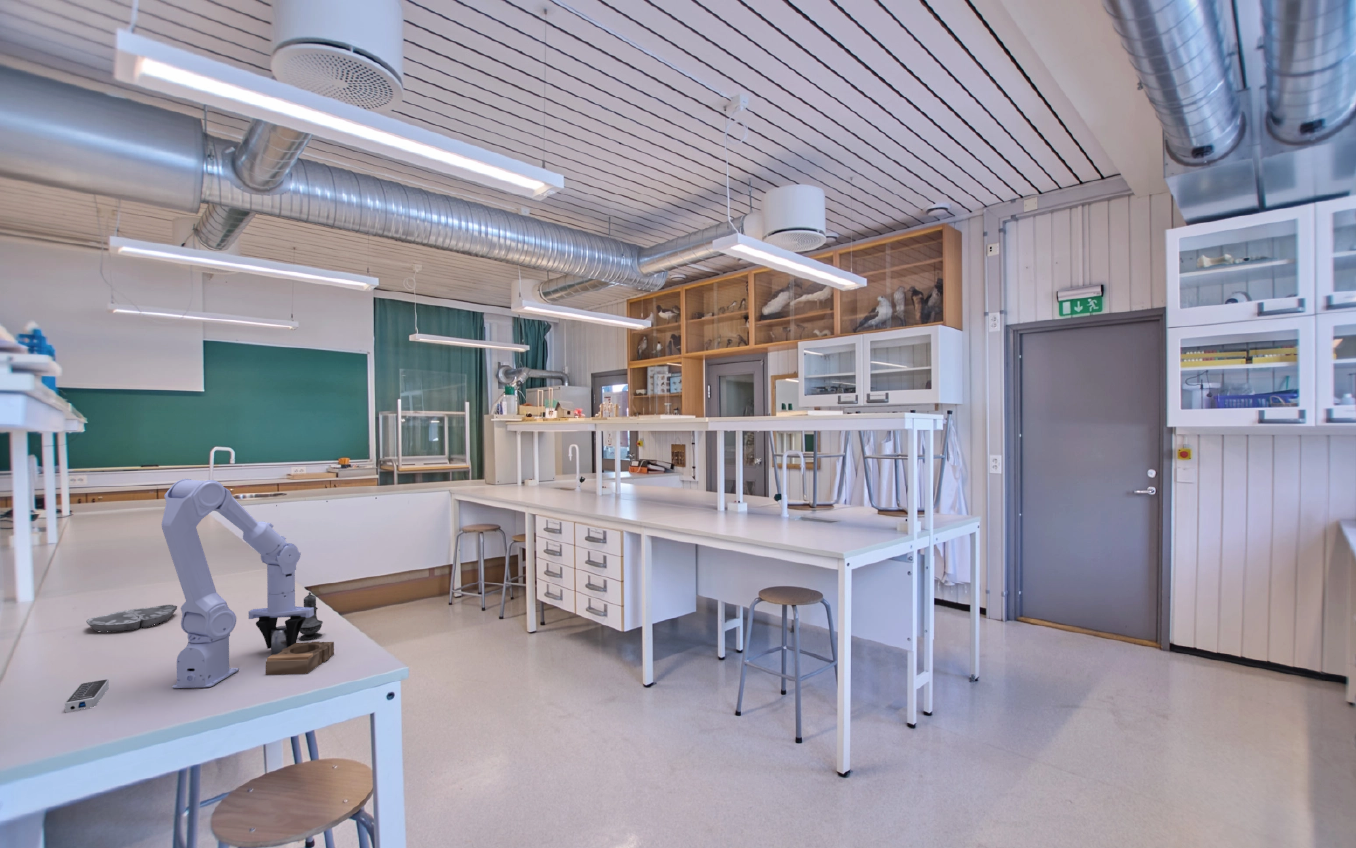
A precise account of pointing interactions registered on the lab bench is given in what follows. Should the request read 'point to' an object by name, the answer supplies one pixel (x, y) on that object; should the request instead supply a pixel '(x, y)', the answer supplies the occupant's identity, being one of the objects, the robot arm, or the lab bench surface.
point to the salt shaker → (310, 621)
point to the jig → (299, 658)
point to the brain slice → (132, 618)
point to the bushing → (278, 639)
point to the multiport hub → (87, 695)
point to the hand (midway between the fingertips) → (281, 646)
